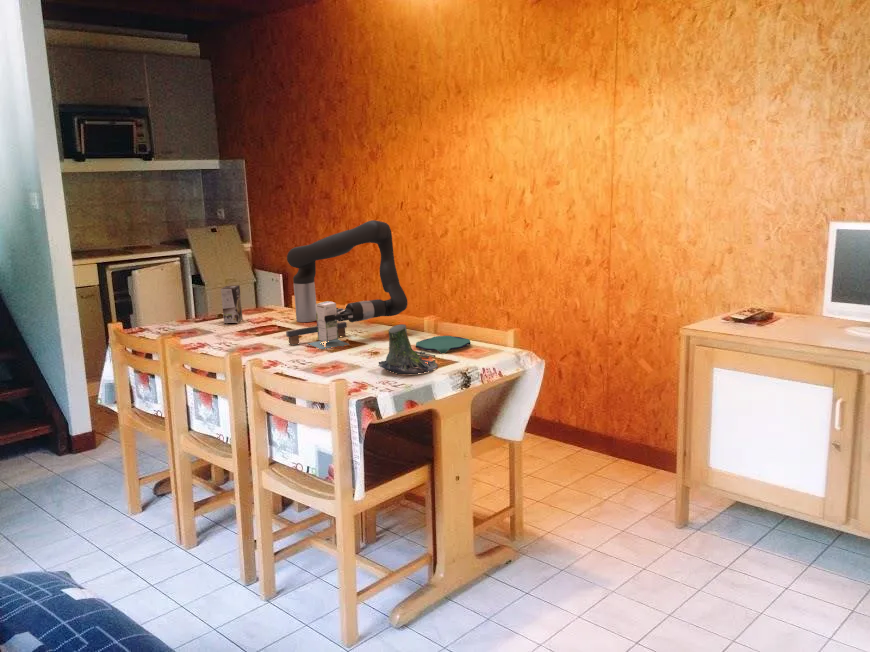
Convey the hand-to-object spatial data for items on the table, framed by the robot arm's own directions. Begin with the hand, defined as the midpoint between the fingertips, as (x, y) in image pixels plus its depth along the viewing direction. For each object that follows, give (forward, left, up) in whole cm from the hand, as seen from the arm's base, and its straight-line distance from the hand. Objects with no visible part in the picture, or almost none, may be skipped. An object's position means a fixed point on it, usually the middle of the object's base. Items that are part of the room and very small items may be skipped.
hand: (321, 317), depth 288 cm
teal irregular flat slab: (+33, +29, -12) cm, 46 cm away
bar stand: (-10, +2, -11) cm, 15 cm away
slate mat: (0, +2, -11) cm, 11 cm away
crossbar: (-10, +2, -8) cm, 13 cm away
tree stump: (+50, +9, -11) cm, 52 cm away
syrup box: (0, +2, -9) cm, 10 cm away
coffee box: (-69, -13, -11) cm, 71 cm away
